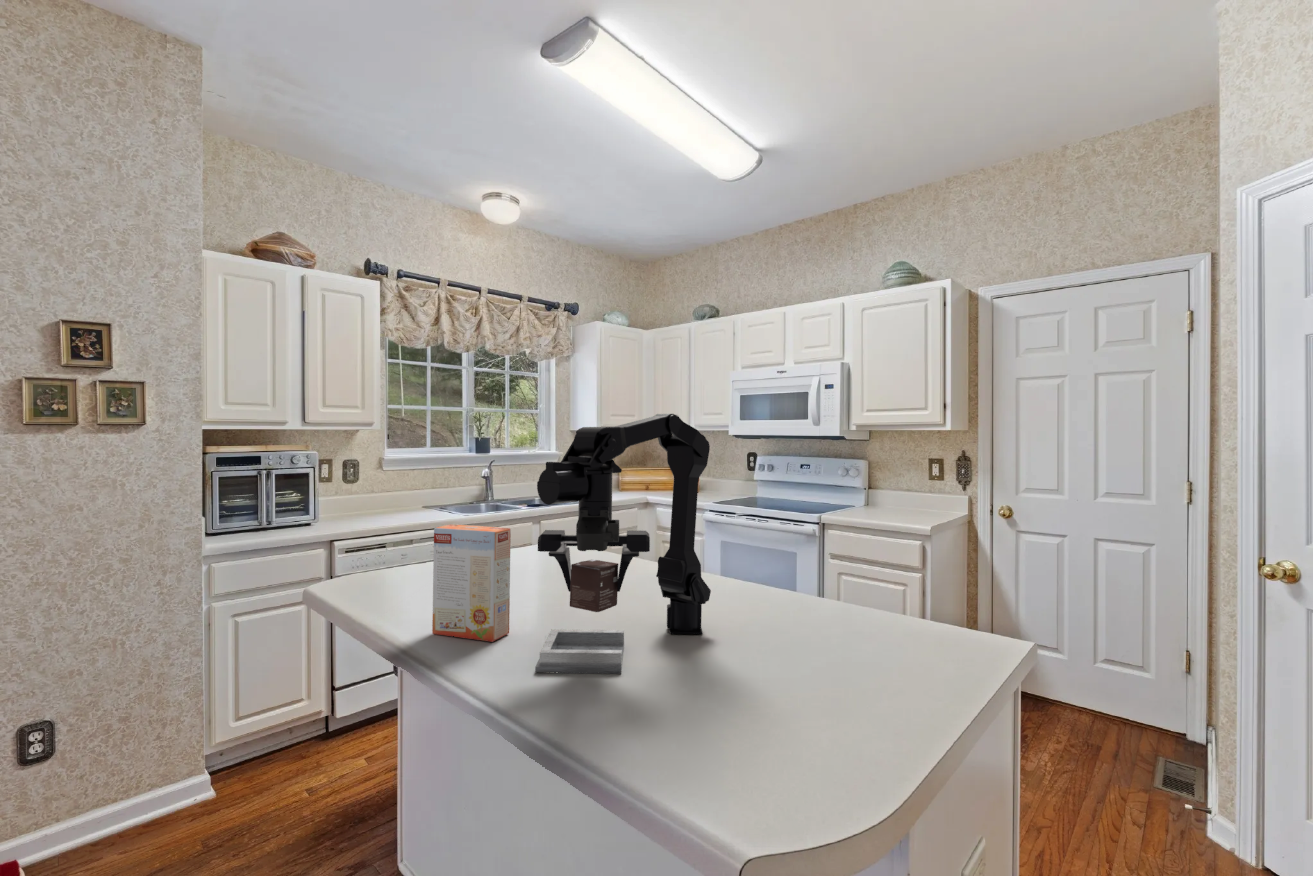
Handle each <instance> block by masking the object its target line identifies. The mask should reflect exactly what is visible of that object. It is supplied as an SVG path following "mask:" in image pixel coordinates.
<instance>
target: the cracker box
mask: <svg viewBox="0 0 1313 876" xmlns="http://www.w3.org/2000/svg"><path fill="white" fill-rule="evenodd" d="M511 531H512V530H511V528H510V527H496V526H485V525H484V526H482V525H472V524H471V525H470V524H468V525H467V524H445V525H441V526H437V527H435V528H433V572H432V574H433V576H432V577H433V578H432V581H433V582H432V622H431V623H432V624H431V626H432V629H431V631H432V635H439V636H440V635H441V636H447V637H453V636H454V638H455V637H456V638H461V639H462V638H463V639H469V640H475V641H483V642H489V643H491V642H492V643H493V642H495V641H497V640H499V639H501V638H503V637H504V636H506V635H508V634H509V633H510V613H511V612H510V611H511V610H510V605H511V603H510V602H511V601H510V598H511V597H510V596H511V595H510V593H511V592H510V591H511V589H510V588H511Z"/></svg>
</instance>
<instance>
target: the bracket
mask: <svg viewBox="0 0 1313 876" xmlns="http://www.w3.org/2000/svg"><path fill="white" fill-rule="evenodd" d="M624 649H625V629H563V628H561V629H556V628H555V629H550V631H549V633H548V635H547V637H546V639H545V641H544V643H543V645H542V647H541V650H540V651H539V657H538V658H539V659H538V661H537V663H536V665H535V667H534V668H535V670H534V673H535V672H545V673H544V674H547V673H546V672H549V673H548V674H551V673H550V672H554V673H553V674H583V675H584V674H585V675H586V674H590V675H591V674H596V675H597V674H599V675H600V674H601V675H602V674H604V675H619V674H620V675H621V674H622V669H623V658H624V651H625V650H624ZM556 672H558V673H556Z"/></svg>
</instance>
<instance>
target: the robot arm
mask: <svg viewBox="0 0 1313 876" xmlns="http://www.w3.org/2000/svg"><path fill="white" fill-rule="evenodd" d="M655 439H657V441H658V444H659V445H660V446H661V448H662V449H663V450H664V451H665V452H666V457H667V459H666V461H667V465H668V467H669V469H670V472H671V473H672V475H673V476H672V477H673V487H672V489H673V490H672V501H671V503H672V504H671V517H670V531H669V548H668V550H667V551H666V552H665V554H664V555H663V556H659V557H658V560H657V572H656V575H655V576H656V578H657V580H658V581H657V582H658V585H659V586H660V591H661V594H662V598H665V599H666V598H667V599H669V604H667V605H666V628H667V629H668V630H669V634H670V635H703V628H702V613H703V611H702V610H703V608H702V607H703V606H702V605H705V604H706V603H707V602H709V601H710V596H711V592H712V591H711V588H710V587H709V585H707V583H706V582H705V580H704V579H703V578H702V564H701V562H700V559H699V558H698V556H697V553H696V551H695V540H696V526H697V525H696V524H697V510H698V509H697V507H698V494H699V493H698V492H699V491H698V490H699V479H700V477H701V475H702V474H703V472H704V471H705V469H706V468H707V466H708V461H709V455H710V447H711V446H710V442H709V441H708V440H707V437H706V436H705V435H704V434H702V433H701V432H700V431H699V430H698V429H696V428H695V427H693V426H691V425H689V424H688V423H686V422H684V421H683V419H682V418H681V417H680V416H679V415H677V414H674V413H657V414H655V415H653V416H650V417H645V418H642V419H639V420H635V421H631V422H627V423H622V424H619V425H616V426H583V427H580V428H578V429H577V430H576V433H575V435H574V437H573V441H572V442H571V443H570V446H569V447H568V448H567V451H566V452H565V454H564V456H563V458H562V459H561V461H546V462H545V469H544V470H543V471H542V472H541V473H540V474H539V477H538V481H537V482H536V489H537V494H538V496H539V499H540V500H541V502H542V503H543V504H545V505H549V506H550V505H559V504H569V503H577V502H578V508H577V509H578V515H577V516H578V517H577V518H578V520H577V523H576V527H575V528H576V530H575V534H566V531H565V529H563V530H562V529H545V530H544V531H543V532H542V533H541V534H540V535H539V536H538V539H537V552H544V553H545V552H547V553H548V556H549V557H554V559H555V560H556V561H557V563H558V565H559V567H560V569H561V572H562V576H563V577H564V581H565V584H566V587H567V591H568V592H569V593H570V585H571V565H572V563H571V552H570V551H571V550H570V547H576V548H577V550H578V551H580V552H586V551H597V552H604V551H606V550H607V549H608V547H622V549H621V555H620V563H619V568H618V583H617V593H619V592H621V589H622V585H623V581H624V579H625V576H626V572H627V570H628V569H629V566H630V564H631V562H632V560H633V558H637V557H639V556H640V553H647V552H650V549H651V548H650V547H651V546H650V545H651V542H650V541H651V538H650V533H649V532H648V531H647V530H626V535H620V520H619V519H613V474H621V473H622V472H623V471H622V468H621V467H620V466H619V465H618V464H617V463H616V462H615V461H614V460H615V459H616V458H618V457H619V456H621V455H622V454H624V452H625V451H626V450H627V449H628V448H630V447H632V446H635V445H639V444H642V443H644V442H648V441H652V440H655Z"/></svg>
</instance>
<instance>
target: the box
mask: <svg viewBox="0 0 1313 876" xmlns="http://www.w3.org/2000/svg"><path fill="white" fill-rule="evenodd" d="M618 575H619V563H617V562H611V561H604V560H599V559H588V560H583V561H582V560H581V561H579V562H576V563H571V585H570V592H569V607H571V608H575V609H578V610H579V609H580V610H585V611H589V612H593V613H600V612H603V611H606V610H608V609H611V608H614V607H616V606H617V605H618V592H617V583H618Z"/></svg>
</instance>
